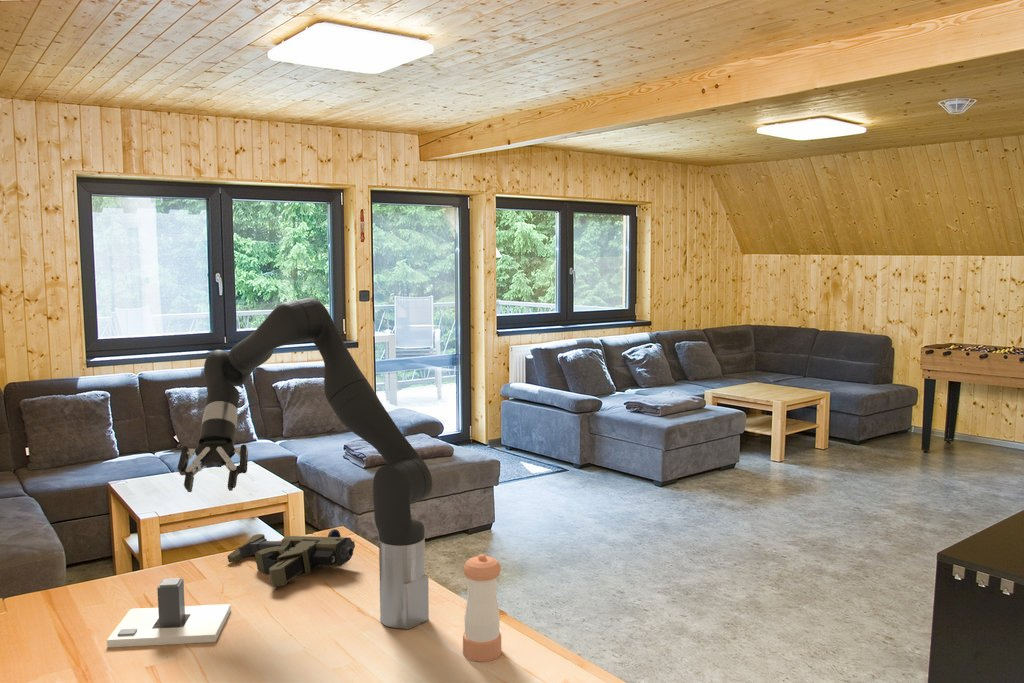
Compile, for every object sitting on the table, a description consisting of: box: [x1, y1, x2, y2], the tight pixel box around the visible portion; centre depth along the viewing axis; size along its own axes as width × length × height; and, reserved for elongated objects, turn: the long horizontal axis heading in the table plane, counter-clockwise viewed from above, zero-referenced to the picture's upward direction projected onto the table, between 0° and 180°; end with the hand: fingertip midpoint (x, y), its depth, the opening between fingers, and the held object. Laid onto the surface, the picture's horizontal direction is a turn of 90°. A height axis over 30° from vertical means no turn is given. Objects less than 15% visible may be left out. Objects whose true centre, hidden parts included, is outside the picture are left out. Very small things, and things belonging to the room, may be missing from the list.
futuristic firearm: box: [227, 528, 356, 588], centre depth 200 cm, size 7×31×25 cm
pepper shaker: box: [462, 553, 502, 663], centre depth 158 cm, size 7×7×19 cm
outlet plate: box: [106, 603, 232, 648], centre depth 169 cm, size 20×14×2 cm
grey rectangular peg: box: [156, 577, 186, 628], centre depth 168 cm, size 4×4×10 cm
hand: (209, 489), depth 181 cm, fingers open, 8 cm apart
